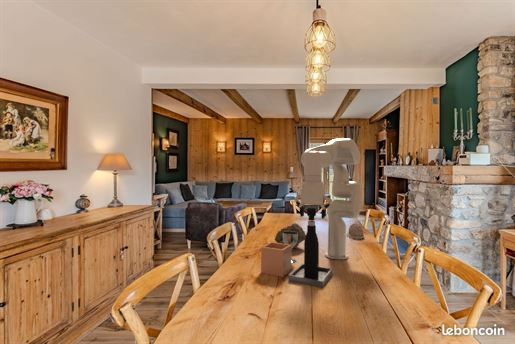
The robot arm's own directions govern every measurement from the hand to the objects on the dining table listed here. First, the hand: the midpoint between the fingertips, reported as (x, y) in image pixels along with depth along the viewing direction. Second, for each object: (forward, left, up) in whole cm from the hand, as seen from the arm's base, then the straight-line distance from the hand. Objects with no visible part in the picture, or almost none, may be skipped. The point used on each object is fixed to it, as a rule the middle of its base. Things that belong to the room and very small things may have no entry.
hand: (312, 217), depth 137 cm
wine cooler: (0, -17, -27) cm, 32 cm away
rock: (-39, -27, -27) cm, 55 cm away
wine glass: (-18, -17, -27) cm, 37 cm away
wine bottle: (0, 0, -26) cm, 26 cm away
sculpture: (-94, +4, -28) cm, 98 cm away
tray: (0, 0, -27) cm, 27 cm away
